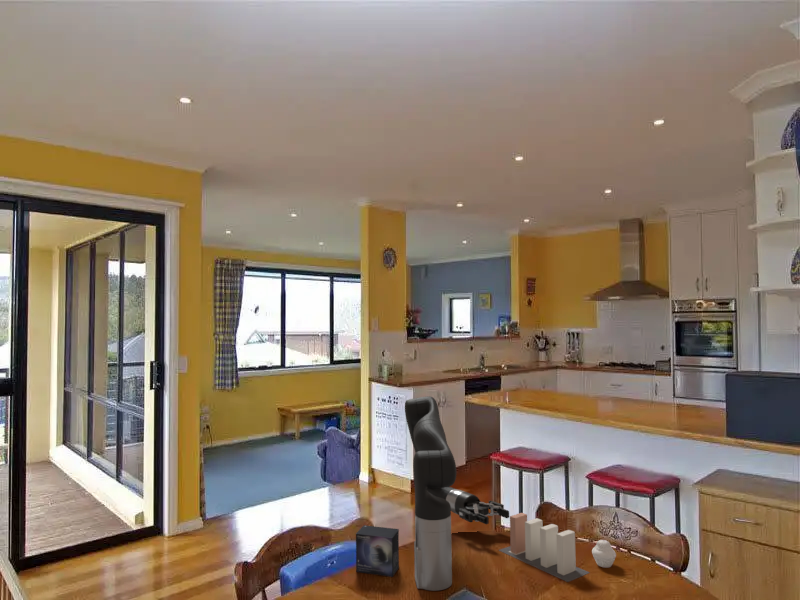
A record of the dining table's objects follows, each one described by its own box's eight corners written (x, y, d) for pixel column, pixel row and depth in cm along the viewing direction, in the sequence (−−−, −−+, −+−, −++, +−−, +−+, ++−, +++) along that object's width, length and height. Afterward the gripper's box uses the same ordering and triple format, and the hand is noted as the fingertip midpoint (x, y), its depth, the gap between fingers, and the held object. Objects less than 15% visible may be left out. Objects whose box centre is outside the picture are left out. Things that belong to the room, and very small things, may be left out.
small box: (354, 573, 147) (354, 533, 148) (363, 562, 154) (363, 524, 154) (392, 577, 144) (392, 537, 145) (399, 567, 150) (399, 528, 151)
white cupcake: (595, 559, 154) (595, 533, 154) (618, 564, 150) (618, 538, 151) (589, 567, 149) (588, 541, 149) (613, 573, 145) (612, 546, 145)
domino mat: (498, 551, 160) (498, 549, 160) (520, 544, 165) (520, 542, 165) (567, 583, 140) (567, 581, 140) (590, 574, 145) (590, 572, 145)
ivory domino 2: (540, 565, 149) (539, 527, 150) (553, 560, 152) (552, 523, 153) (546, 567, 148) (545, 529, 148) (558, 563, 151) (557, 525, 151)
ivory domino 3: (557, 572, 145) (556, 533, 145) (569, 567, 148) (568, 529, 148) (563, 575, 143) (562, 536, 144) (575, 570, 146) (574, 531, 147)
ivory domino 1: (525, 558, 154) (524, 521, 154) (537, 554, 157) (537, 518, 157) (531, 560, 152) (530, 524, 153) (543, 556, 155) (542, 520, 156)
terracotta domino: (510, 551, 158) (509, 516, 159) (522, 547, 161) (521, 512, 162) (515, 553, 157) (515, 518, 157) (527, 549, 160) (527, 514, 160)
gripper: (445, 496, 176) (480, 509, 162) (478, 487, 184) (514, 500, 171) (445, 519, 175) (481, 535, 162) (479, 510, 184) (515, 525, 170)
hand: (498, 517), depth 166 cm, fingers open, 8 cm apart
